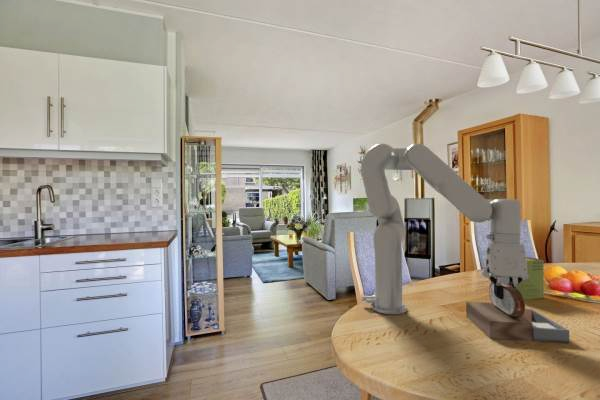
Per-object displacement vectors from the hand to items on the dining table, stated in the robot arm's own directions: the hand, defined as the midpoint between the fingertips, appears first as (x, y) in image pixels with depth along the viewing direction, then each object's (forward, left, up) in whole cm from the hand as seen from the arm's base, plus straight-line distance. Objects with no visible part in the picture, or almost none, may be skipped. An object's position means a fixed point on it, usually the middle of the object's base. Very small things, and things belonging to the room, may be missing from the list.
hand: (504, 297), depth 90 cm
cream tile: (+9, -4, -7) cm, 12 cm away
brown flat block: (-3, 0, -9) cm, 10 cm away
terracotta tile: (+6, +4, -6) cm, 10 cm away
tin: (0, 0, -4) cm, 4 cm away
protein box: (+22, +34, -10) cm, 42 cm away
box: (+8, 0, -9) cm, 12 cm away
